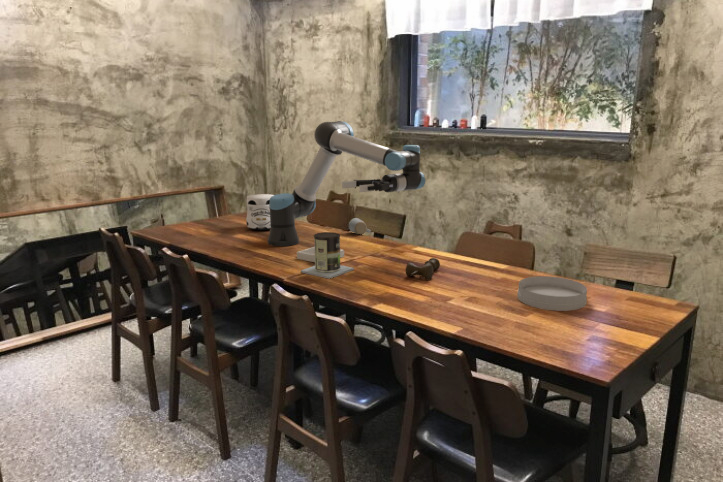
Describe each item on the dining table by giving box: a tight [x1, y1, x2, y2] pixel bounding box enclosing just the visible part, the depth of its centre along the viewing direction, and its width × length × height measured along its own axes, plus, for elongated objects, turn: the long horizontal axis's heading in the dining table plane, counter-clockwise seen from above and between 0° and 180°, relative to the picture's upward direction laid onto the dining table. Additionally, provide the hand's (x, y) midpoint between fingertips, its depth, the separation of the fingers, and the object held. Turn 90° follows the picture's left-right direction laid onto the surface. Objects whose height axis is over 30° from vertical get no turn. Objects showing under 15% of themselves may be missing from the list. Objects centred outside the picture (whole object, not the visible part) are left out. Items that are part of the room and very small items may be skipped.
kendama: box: [405, 257, 441, 281], centre depth 212 cm, size 6×10×20 cm
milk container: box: [245, 193, 274, 231], centre depth 297 cm, size 17×17×18 cm
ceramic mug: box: [348, 217, 372, 235], centre depth 285 cm, size 11×8×8 cm
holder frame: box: [296, 246, 345, 263], centre depth 238 cm, size 15×15×3 cm
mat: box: [300, 264, 355, 280], centre depth 218 cm, size 15×15×1 cm
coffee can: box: [313, 231, 341, 273], centre depth 217 cm, size 10×10×14 cm
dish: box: [516, 275, 588, 312], centre depth 184 cm, size 22×22×5 cm
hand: (350, 186), depth 223 cm, fingers open, 13 cm apart
